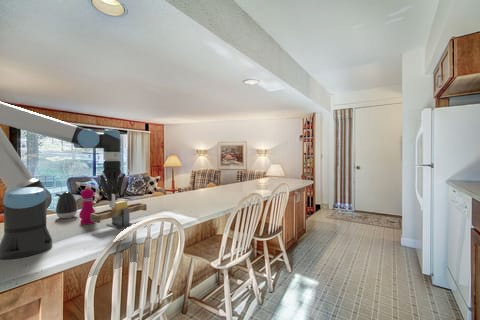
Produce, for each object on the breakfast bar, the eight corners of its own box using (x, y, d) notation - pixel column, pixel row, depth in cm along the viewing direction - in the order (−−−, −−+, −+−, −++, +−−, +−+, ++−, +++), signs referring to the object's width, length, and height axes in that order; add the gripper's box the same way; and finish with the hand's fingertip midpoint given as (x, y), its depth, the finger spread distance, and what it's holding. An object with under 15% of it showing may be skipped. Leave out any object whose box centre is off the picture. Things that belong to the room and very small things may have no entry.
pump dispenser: (58, 216, 133) (58, 191, 133) (79, 214, 138) (79, 190, 137) (52, 220, 124) (52, 193, 124) (75, 218, 128) (75, 192, 128)
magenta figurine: (82, 225, 115) (82, 187, 115) (77, 223, 120) (77, 186, 120) (97, 222, 121) (97, 185, 121) (92, 220, 126) (92, 184, 125)
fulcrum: (119, 229, 110) (119, 211, 110) (106, 225, 116) (106, 208, 116) (134, 224, 117) (134, 207, 117) (121, 221, 123) (121, 205, 123)
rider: (116, 212, 113) (116, 203, 113) (111, 211, 115) (111, 202, 115) (127, 209, 118) (127, 201, 118) (123, 208, 120) (122, 200, 120)
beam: (98, 223, 104) (97, 215, 104) (90, 220, 107) (90, 213, 107) (146, 210, 126) (146, 203, 126) (138, 208, 130) (138, 202, 130)
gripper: (102, 160, 105) (102, 210, 105) (128, 160, 116) (128, 205, 117) (94, 160, 109) (94, 208, 109) (120, 160, 120) (120, 203, 120)
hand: (112, 207), depth 113 cm, fingers closed
